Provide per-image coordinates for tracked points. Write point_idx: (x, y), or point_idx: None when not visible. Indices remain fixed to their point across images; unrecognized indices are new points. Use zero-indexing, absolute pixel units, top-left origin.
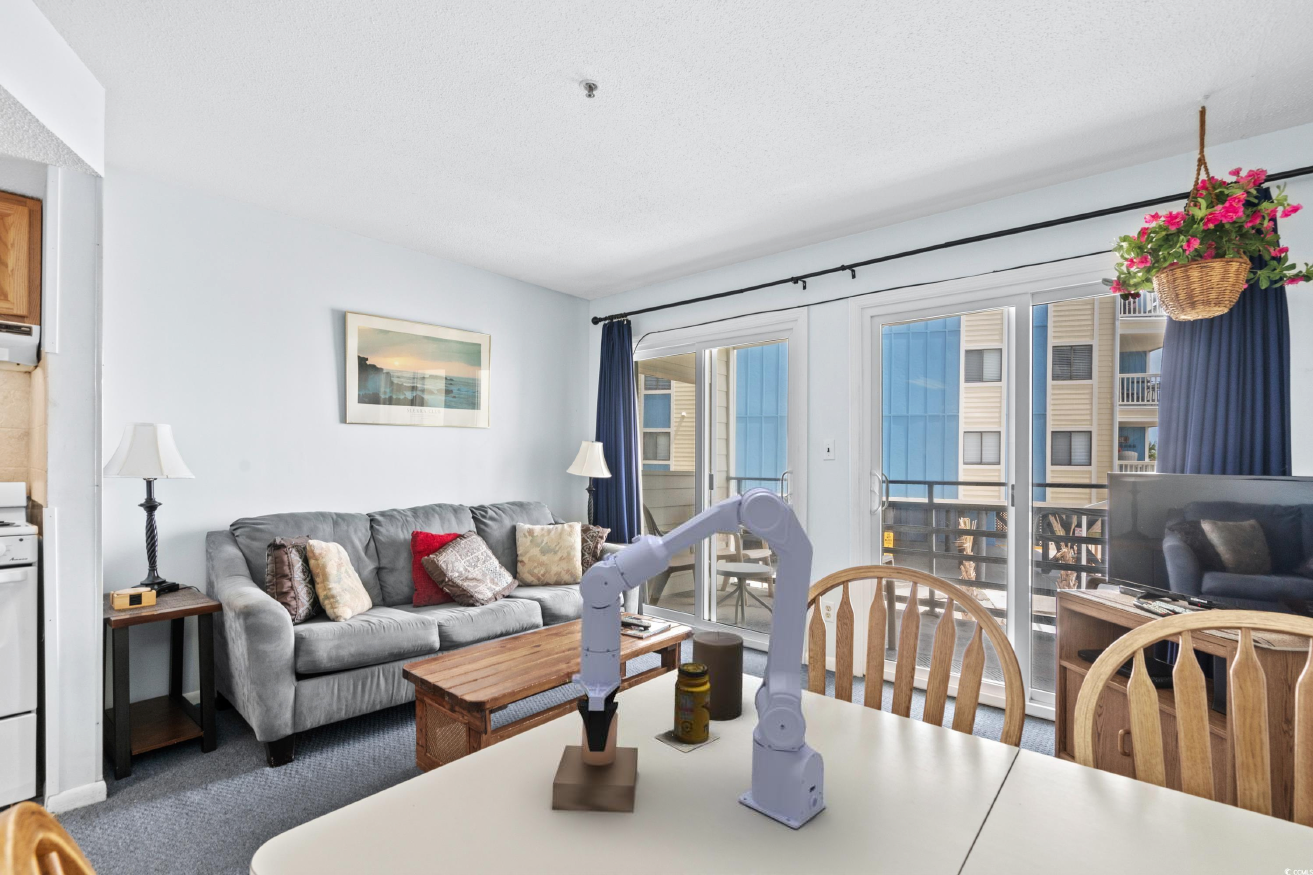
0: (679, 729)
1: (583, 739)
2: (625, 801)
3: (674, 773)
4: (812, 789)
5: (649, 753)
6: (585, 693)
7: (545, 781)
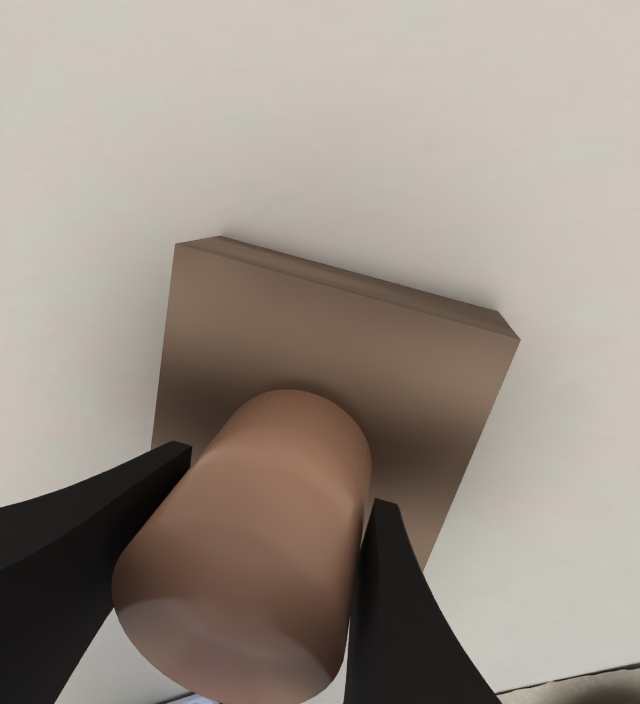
0: None
1: (235, 438)
2: None
3: None
4: None
5: (524, 608)
6: (382, 682)
7: (416, 222)
